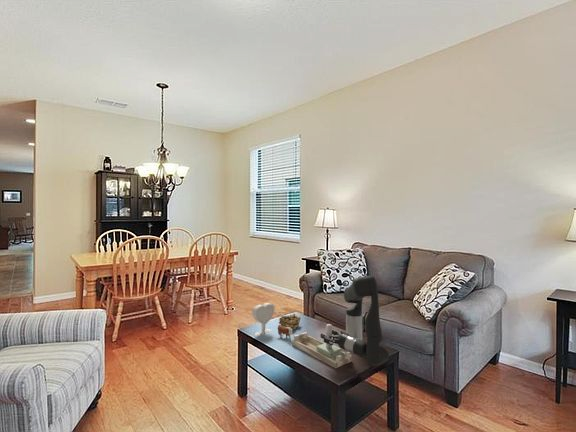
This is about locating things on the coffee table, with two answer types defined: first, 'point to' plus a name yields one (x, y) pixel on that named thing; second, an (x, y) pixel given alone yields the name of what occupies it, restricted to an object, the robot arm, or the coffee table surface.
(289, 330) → the bull figurine
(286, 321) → the mineral formation
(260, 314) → the heart sculpture
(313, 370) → the coffee table surface
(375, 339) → the robot arm
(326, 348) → the green block with post
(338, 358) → the bay
